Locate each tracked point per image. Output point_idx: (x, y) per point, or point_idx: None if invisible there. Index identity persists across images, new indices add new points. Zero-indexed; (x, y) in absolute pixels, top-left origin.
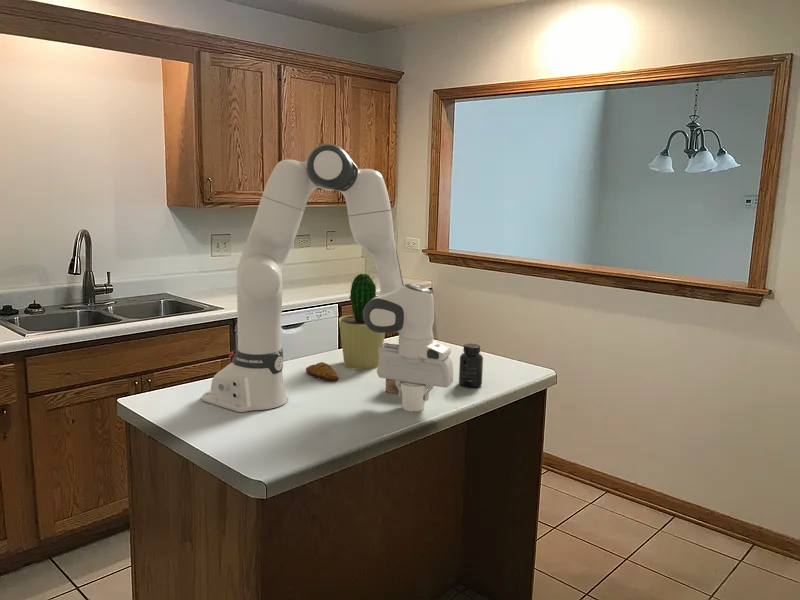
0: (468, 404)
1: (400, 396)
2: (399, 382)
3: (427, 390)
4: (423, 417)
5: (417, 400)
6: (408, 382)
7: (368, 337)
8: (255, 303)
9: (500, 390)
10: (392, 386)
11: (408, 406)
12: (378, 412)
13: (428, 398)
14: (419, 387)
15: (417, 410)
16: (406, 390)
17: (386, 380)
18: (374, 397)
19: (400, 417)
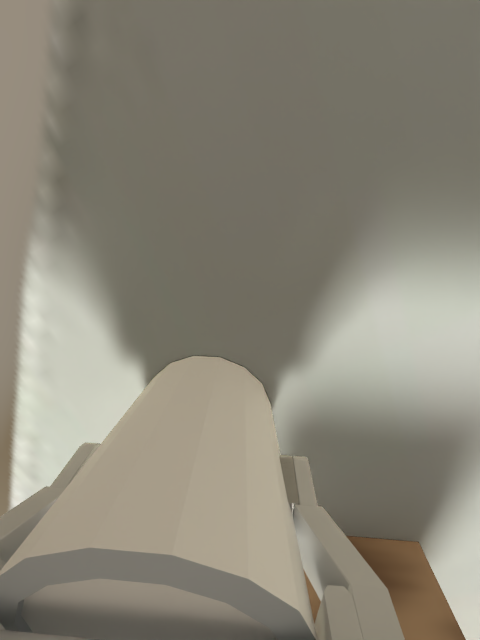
0: None
1: (294, 456)
2: (336, 620)
3: (4, 533)
4: (79, 292)
5: (127, 416)
6: (218, 635)
7: None
8: None
9: None
10: (396, 579)
11: (208, 372)
12: (404, 248)
13: None
14: (21, 555)
15: (159, 372)
16: (199, 483)
17: (453, 624)
18: (470, 468)
19: (212, 221)
